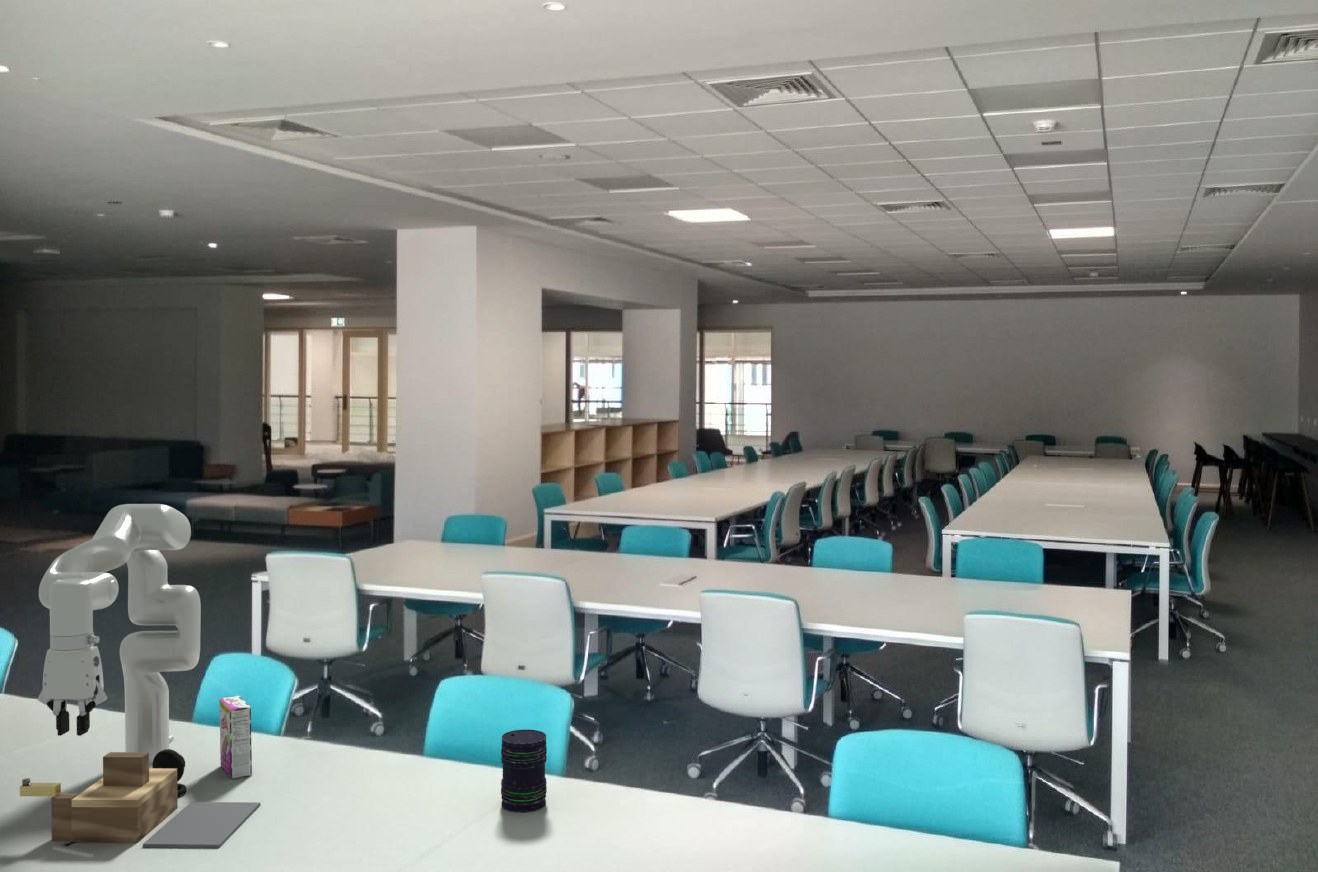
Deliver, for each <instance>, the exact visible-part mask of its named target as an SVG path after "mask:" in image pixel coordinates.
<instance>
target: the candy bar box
mask: <svg viewBox="0 0 1318 872" xmlns="http://www.w3.org/2000/svg"><path fill="white" fill-rule="evenodd" d="M218 701H219V704H218V705H219V709H218V710H219V741H220V742H219V745H220V746H219V748H220V749H219V750H220V755H219V756H220V759H219V760H220V767H221V768H222V769H223V770H224V772H225V773H226V774H227V775H228V776H229V778H230V779H231V780H236V779H240V778H247V777H250V776H252V775H253V766H252V765H253V761H252V760H253V759H252V758H253V755H252V754H253V753H252V752H253V751H252V707H251V706H250V705H249V703H247V702H246V701H245V700H244V699H243V698H242V696H240V695H234V696H226V697H221V698H219V700H218Z"/></svg>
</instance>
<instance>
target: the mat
mask: <svg viewBox="0 0 1318 872" xmlns="http://www.w3.org/2000/svg"><path fill="white" fill-rule="evenodd" d="M261 804H262V803H261V802H255V801H254V802H243V801H242V802H241V801H240V802H236V801H234V802H233V801H229V802H228V801H225V802H223V801H190V802H189V803H188V804H187V805H186V806H185V807H183V808H182V809H181V810H179V812H178V813H177V814H175V815H174V816H173V817H172V818H171V819H169V820H168V821H167V822H166V823H165V824H164V825H162V826H161V827H160V828H159V829H158V830H157V831H156V832H155V833H154V834H152V835H151V836H150V837H149V838H148V839H147V840H145V842H143V843H142V847H143V848H200V849H201V848H203V849H205V848H208V849H209V848H213V849H215V848H217V849H219V848H221V847H222V846H224V845H223V844H225V843H226V842H227V841H228V840H229V838H231V836H233V834H234V833H235V832H236V831H238V829H239V828H240V827H241V826H242V825H244V823H245V822H246V821H247V820H248V819H249V818H250V817H251V816H252V815H253V814H254V812H256V811H257V809H259V808H260V807H261Z"/></svg>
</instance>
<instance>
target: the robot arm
mask: <svg viewBox="0 0 1318 872" xmlns="http://www.w3.org/2000/svg"><path fill="white" fill-rule="evenodd" d="M191 536H192V529H191V524H190V521H189V519H188V517H186V515H185V514H184V513H182V512H181V511H179V510H178V509H176V508H174V507H172V506H170V505H167V504H161V503H125V504H119V505H116V506H114V507H112V508H111V509H110V510H109V511H108V512H107V514H106V515H105V517H104V518H103V521H102V522H101V524H100V525H99V527H98V529H97V530H96V532H95V534H94V535H93V537H92V539H90V540H88V541H86V542H83V543H81V544H79V545H77V546H74V547H73V548H71V549H69V550H67V551H65V552H63V553H62V554H60V555H59V556H57V557H56V558H55V559H54V560H53V561H52V563H51V564H50V566H49V567H48V568H47V570H46V571H45V573H44V575H43V577H42V579H41V581H40V583H39V586H38V587H39V588H38V598H39V602H40V603H41V605H43V607H45V608H46V609H48V610H49V636H50V637H49V643H50V645H49V647H50V648H49V649H47V651H46V654H45V658H44V659H45V660H44V663H43V664H44V666H43V674H42V689H41V692H40V693H39V696H38V697H37V700H38V702H40V703H42V704H44V705H46V706H47V708H49V710H51V711H52V714H53V716H55V727H56V728H55V730H56V731H57V736H58V737H59V736H63V735H65V734H67V733H68V732H69V731H70V712H69V711H68V710H67V707H68V701H77V705H78V713H79V714H78V715H77V716H76V736H77V737H82V736H83V735H85V734H86V733H88V732H89V729H90V725H91V724H90V723H91V722H90V720H91V719H90V715H91V714H90V713H91V712H92V711H93V710H94V709H95V708H96V707H97V706H99V705H100V704H102V703H103V702H105V701H107V700H108V696H107V693H106V692H105V691H104V687H105V686H104V673H103V665H102V659H101V654H100V650H99V647H98V646H97V645H95V644H99V643H100V636H99V635H95V632H94V611H96V610H102V609H106V608H108V607H110V606H111V605H112V604H113V603H114V602H115V601H116V600H117V598H118V595H119V588H120V587H119V582H118V580H117V578H116V577H115V576H114V575H112V573H108V571H113V570H115V569H118V568H120V567H122V566H124V565H125V564H126V565H127V569H128V570H127V571H128V573H127V575H128V582H127V583H128V584H127V585H128V586H127V611H128V619H129V621H130V622H131V623H132V624H135V625H138V626H176V628H177V630H143V631H135V632H132V633H129V634H128V635H126V636H125V637H124V638H123V639H122V641H121V642H120V646H119V658H120V663H121V669H122V675H123V683H124V743H125V744H124V746H125V749H124V750H125V751H124V752H149V768H153V767H152V764H153V760H154V757H155V756H156V754H157V753H158V752H160V751H162V750H165V749H170V744H171V743H173V742H174V739H175V738H174V736H173V735H171V734H170V707H169V706H170V705H169V704H170V697H169V696H170V695H169V693H170V690H169V685H168V684H167V681H166V680H165V678H164V677H163V676H162V674H161V673H162V672H184V671H191V670H192V669H194V668H196V666H197V665H198V663H199V661H200V655H201V625H202V624H201V621H202V620H201V616H202V615H201V614H202V613H201V611H202V609H201V607H202V606H201V597H200V593H199V592H198V590H197V589H196V587H194V586H192V585H188V584H187V585H186V584H169V582H168V562H167V559H165V556H164V555H163V554H162V552H161V551H179V550H182V549H184V548H185V547H186V546H188V543H189V542H190V539H191ZM94 696H95V698H94ZM93 698H94V699H93Z"/></svg>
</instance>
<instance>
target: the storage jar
mask: <svg viewBox="0 0 1318 872" xmlns="http://www.w3.org/2000/svg"><path fill="white" fill-rule="evenodd" d="M547 749H548V747H547V734H546V733H545V732H544V731H540V730H536V729H513V730H510V731H507V732H505V733H503V734H502V735H501V748H500V756H501V758H500V760H501V764H502V778H501V782H500V785H501V787H500V797H501V808H502V809H503V810H505V811H507V812H510V813H517V814H518V813H521V814H523V813H533V812H537V811H540V810H542V809H544V808H545V807H546V805H547V800H546V798H547V792H548V791H547V787H548V786H547V783H548V782H547V777H546V762H547V757H548V756H547V753H548V752H547V751H548V750H547Z"/></svg>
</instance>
